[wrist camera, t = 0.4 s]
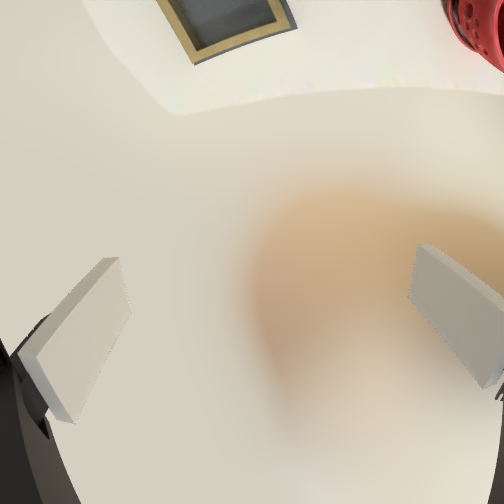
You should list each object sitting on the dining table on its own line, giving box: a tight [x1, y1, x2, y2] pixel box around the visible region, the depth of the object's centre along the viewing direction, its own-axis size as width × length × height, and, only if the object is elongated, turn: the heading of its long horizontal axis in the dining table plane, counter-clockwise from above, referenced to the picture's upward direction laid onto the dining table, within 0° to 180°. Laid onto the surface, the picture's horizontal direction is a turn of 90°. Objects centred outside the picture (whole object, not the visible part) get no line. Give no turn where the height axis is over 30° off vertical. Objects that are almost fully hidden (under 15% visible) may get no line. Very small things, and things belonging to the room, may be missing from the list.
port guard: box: [156, 0, 298, 65], centre depth 25 cm, size 14×14×4 cm
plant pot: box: [447, 0, 504, 73], centre depth 17 cm, size 13×13×12 cm
